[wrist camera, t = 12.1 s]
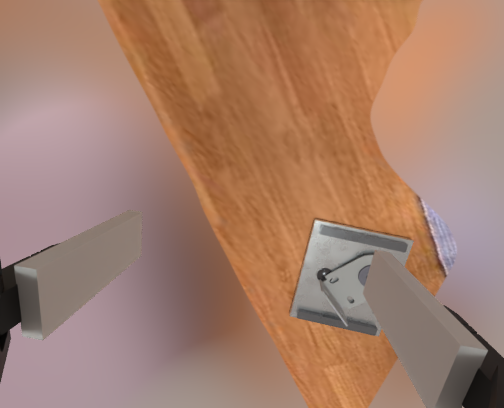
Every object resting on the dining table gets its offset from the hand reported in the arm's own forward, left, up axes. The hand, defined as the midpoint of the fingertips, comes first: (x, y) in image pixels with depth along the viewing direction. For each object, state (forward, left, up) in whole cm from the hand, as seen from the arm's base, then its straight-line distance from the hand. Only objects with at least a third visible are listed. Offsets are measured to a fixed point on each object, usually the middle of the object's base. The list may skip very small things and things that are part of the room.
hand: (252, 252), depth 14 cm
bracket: (+11, +16, -22) cm, 29 cm away
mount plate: (+11, +15, -23) cm, 30 cm away
